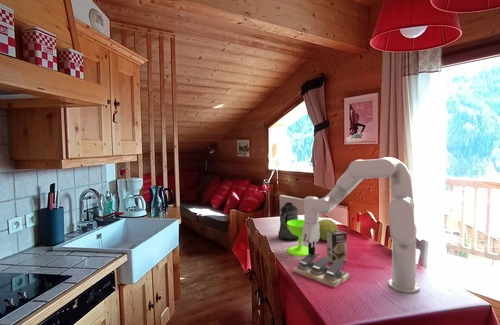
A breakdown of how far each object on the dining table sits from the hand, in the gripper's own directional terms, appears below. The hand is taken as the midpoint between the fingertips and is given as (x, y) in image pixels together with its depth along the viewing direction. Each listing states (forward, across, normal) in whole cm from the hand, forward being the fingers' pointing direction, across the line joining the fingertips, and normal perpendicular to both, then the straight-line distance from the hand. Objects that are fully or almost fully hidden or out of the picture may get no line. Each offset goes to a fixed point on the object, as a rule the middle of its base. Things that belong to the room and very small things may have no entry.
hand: (311, 253), depth 156 cm
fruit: (+8, -46, -21) cm, 51 cm away
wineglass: (+8, -15, -19) cm, 25 cm away
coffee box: (+8, -19, +4) cm, 21 cm away
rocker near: (+2, +3, +16) cm, 17 cm away
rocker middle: (+2, +3, +8) cm, 9 cm away
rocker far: (+2, +3, 0) cm, 4 cm away
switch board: (+8, +3, +8) cm, 12 cm away
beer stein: (+8, -30, -40) cm, 51 cm away
